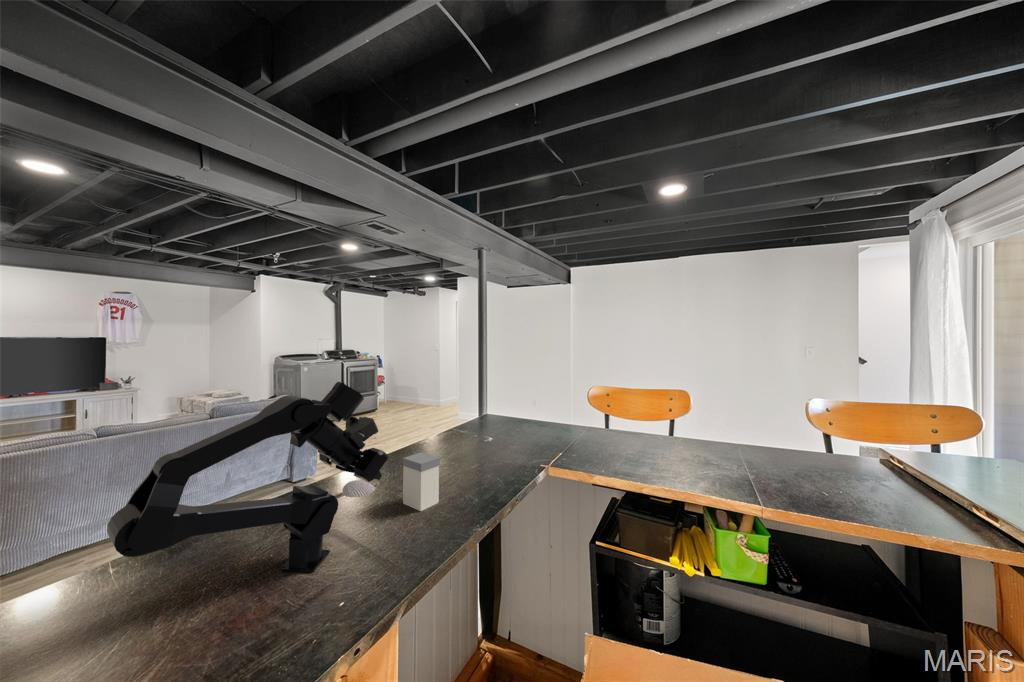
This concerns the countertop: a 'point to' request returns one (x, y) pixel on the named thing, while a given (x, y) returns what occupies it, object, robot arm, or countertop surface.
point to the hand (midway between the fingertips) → (375, 475)
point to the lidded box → (421, 481)
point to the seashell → (357, 489)
